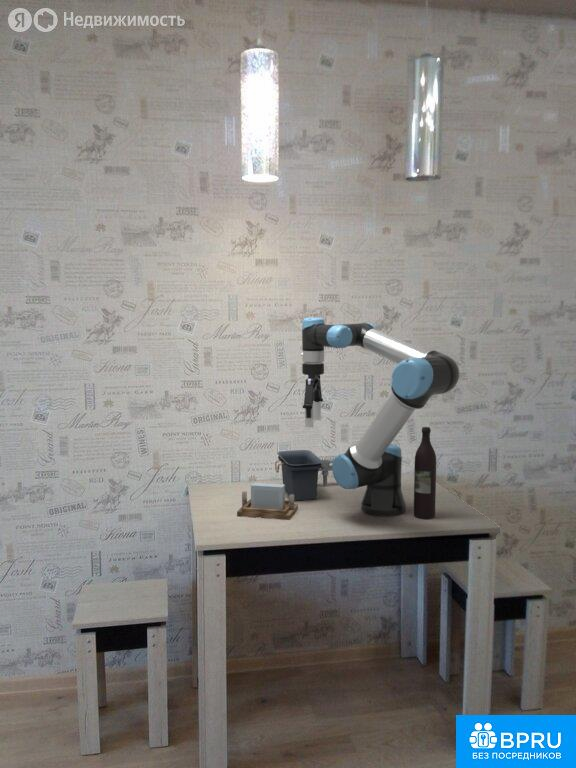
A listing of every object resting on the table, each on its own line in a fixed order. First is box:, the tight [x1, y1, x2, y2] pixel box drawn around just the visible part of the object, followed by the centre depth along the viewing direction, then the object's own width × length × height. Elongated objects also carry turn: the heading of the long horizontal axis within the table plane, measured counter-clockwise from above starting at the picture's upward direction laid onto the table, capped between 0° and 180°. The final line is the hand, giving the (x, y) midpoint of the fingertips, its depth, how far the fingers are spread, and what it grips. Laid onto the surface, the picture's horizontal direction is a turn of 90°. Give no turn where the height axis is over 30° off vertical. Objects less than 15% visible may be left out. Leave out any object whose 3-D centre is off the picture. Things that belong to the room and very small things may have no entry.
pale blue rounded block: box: [250, 482, 286, 510], centre depth 255 cm, size 11×4×8 cm, turn 77°
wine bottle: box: [413, 426, 437, 520], centre depth 248 cm, size 7×7×30 cm
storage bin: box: [274, 449, 323, 502], centre depth 275 cm, size 21×16×14 cm
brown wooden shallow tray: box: [236, 491, 299, 521], centre depth 255 cm, size 18×13×6 cm
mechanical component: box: [318, 458, 334, 487], centre depth 287 cm, size 3×10×10 cm, turn 100°
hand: (313, 423), depth 261 cm, fingers open, 13 cm apart
